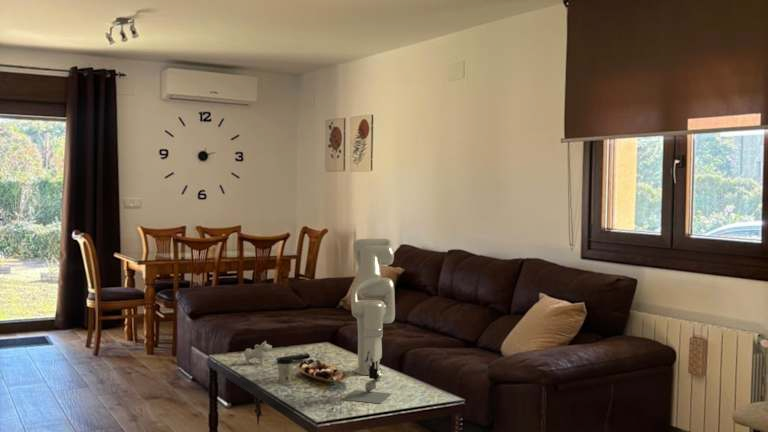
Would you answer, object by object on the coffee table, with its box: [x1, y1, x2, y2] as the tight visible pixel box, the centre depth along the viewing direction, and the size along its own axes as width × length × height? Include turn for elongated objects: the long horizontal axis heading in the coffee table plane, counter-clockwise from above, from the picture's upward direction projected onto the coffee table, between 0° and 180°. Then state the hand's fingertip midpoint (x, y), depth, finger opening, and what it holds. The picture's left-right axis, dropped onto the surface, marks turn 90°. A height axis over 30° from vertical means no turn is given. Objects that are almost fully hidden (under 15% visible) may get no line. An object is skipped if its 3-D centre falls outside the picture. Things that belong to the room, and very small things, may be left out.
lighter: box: [364, 372, 383, 392], centre depth 310 cm, size 7×2×8 cm
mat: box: [341, 389, 392, 405], centre depth 305 cm, size 14×16×1 cm
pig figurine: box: [244, 340, 273, 366], centre depth 358 cm, size 5×13×11 cm, turn 98°
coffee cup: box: [277, 356, 294, 384], centre depth 327 cm, size 7×7×10 cm
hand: (373, 378), depth 310 cm, fingers closed
